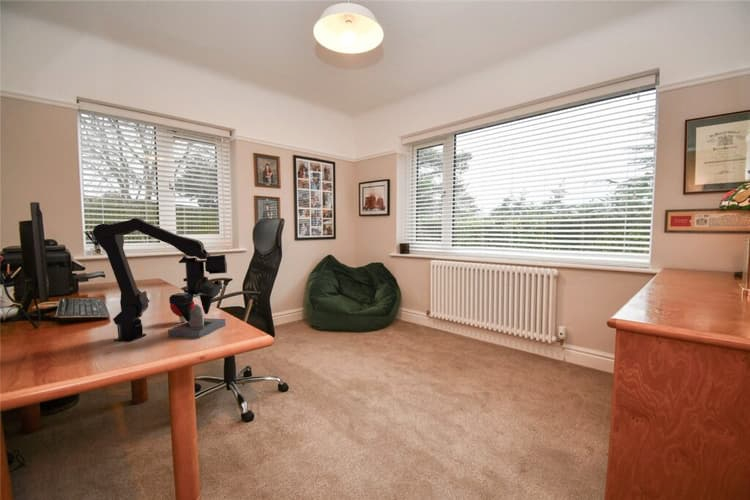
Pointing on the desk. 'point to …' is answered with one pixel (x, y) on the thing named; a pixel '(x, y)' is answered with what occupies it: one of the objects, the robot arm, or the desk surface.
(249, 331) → the desk surface
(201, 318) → the pale grey rock
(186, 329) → the socket block
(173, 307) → the light bulb
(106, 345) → the desk surface
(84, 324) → the desk surface
